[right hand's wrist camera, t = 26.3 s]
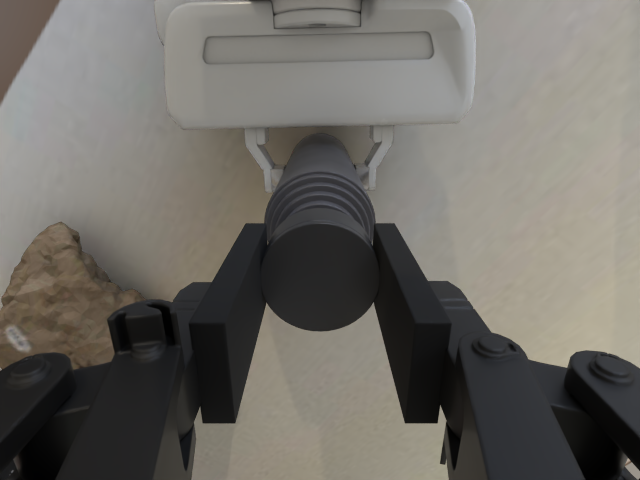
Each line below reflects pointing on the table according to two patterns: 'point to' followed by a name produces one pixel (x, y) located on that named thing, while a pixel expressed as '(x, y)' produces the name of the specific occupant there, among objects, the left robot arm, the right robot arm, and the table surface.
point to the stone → (59, 303)
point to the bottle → (320, 184)
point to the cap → (320, 270)
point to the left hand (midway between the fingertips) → (320, 190)
